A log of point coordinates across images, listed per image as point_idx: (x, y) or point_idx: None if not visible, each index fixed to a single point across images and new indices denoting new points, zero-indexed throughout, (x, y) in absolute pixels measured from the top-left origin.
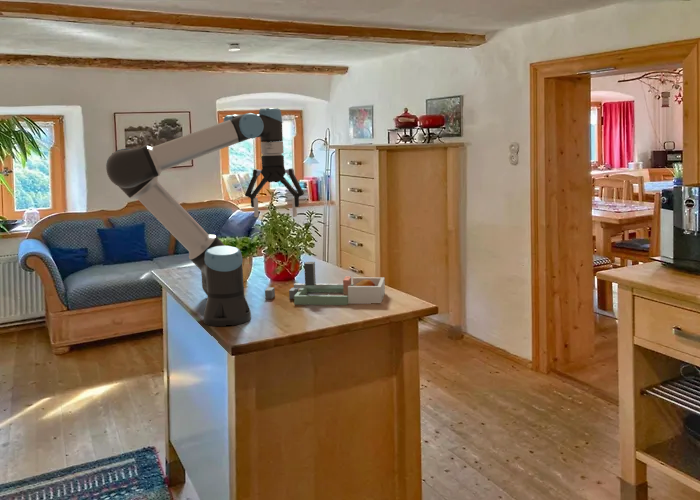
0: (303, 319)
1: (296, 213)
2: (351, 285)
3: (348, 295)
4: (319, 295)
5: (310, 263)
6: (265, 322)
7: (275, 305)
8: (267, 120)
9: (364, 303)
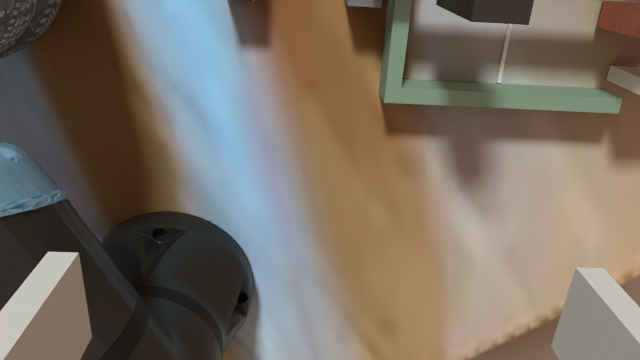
0: (431, 271)
1: (618, 293)
2: None
3: (627, 88)
4: (498, 93)
5: (511, 18)
6: (311, 300)
7: (300, 105)
8: None
9: None
